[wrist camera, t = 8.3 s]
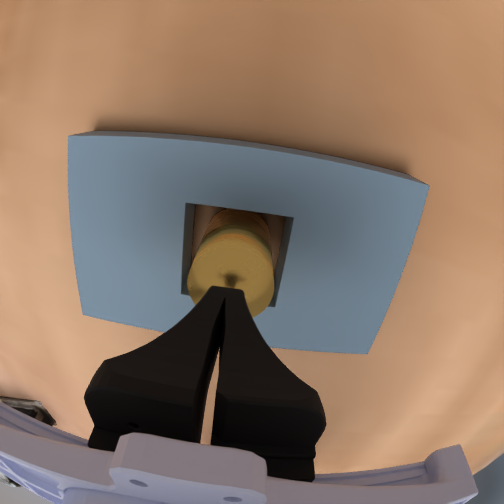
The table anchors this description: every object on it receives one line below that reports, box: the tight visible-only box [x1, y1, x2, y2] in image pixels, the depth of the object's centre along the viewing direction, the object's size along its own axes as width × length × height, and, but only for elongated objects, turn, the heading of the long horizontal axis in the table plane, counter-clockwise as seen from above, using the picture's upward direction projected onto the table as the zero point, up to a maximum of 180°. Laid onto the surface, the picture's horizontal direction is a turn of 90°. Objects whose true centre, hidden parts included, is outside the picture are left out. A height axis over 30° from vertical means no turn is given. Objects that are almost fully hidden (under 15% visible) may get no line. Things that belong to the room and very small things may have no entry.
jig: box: [68, 131, 429, 354], centre depth 18 cm, size 12×20×3 cm, turn 82°
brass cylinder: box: [187, 208, 274, 318], centre depth 17 cm, size 4×4×6 cm
